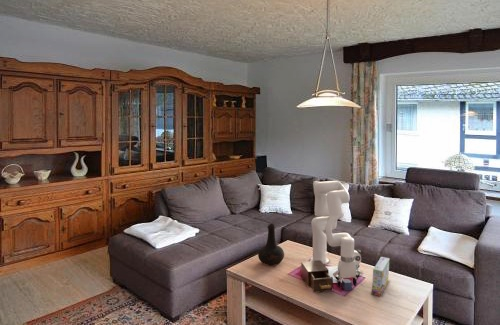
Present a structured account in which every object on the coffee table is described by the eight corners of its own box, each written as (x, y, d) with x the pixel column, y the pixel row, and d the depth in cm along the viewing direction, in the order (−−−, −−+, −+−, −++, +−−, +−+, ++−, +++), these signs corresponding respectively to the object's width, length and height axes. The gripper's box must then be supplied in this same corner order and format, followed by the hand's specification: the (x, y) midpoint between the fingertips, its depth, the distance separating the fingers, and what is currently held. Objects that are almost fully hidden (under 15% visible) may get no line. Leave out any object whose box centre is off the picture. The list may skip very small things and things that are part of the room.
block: (348, 285, 209) (348, 278, 208) (351, 289, 204) (352, 282, 204) (341, 286, 208) (341, 279, 207) (344, 290, 204) (344, 283, 203)
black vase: (253, 263, 242) (252, 225, 238) (269, 255, 255) (268, 218, 251) (273, 271, 230) (272, 230, 226) (289, 262, 243) (288, 223, 239)
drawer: (335, 294, 197) (336, 281, 196) (316, 296, 196) (316, 283, 194) (324, 279, 215) (324, 267, 214) (306, 281, 213) (306, 269, 212)
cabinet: (328, 285, 210) (328, 270, 209) (308, 287, 208) (308, 271, 207) (320, 274, 224) (320, 260, 223) (301, 275, 223) (301, 261, 221)
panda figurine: (344, 276, 220) (344, 254, 218) (340, 268, 231) (340, 247, 229) (363, 276, 220) (364, 253, 218) (358, 268, 231) (358, 247, 229)
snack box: (381, 296, 196) (382, 271, 194) (371, 294, 199) (372, 269, 197) (389, 281, 214) (389, 257, 211) (379, 278, 216) (380, 255, 214)
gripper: (358, 254, 208) (357, 281, 211) (330, 256, 206) (330, 284, 208) (364, 259, 201) (363, 287, 203) (335, 262, 199) (335, 290, 201)
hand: (346, 286), depth 206 cm, fingers open, 8 cm apart
